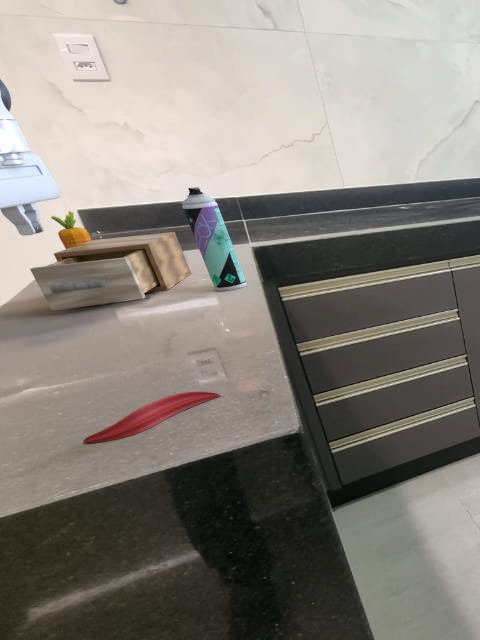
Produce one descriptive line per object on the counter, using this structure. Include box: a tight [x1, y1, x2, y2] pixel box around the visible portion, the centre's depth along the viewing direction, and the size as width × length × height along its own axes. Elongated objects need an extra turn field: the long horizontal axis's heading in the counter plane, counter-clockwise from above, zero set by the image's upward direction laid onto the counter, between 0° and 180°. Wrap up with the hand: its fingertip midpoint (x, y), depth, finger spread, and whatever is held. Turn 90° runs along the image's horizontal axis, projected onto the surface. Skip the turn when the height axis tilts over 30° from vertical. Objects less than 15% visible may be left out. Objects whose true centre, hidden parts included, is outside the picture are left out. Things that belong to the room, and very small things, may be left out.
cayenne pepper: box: [82, 391, 222, 444], centre depth 58 cm, size 12×5×2 cm, turn 138°
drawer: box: [29, 249, 160, 312], centre depth 102 cm, size 19×14×8 cm
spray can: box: [181, 186, 248, 292], centre depth 106 cm, size 6×6×20 cm
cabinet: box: [53, 231, 192, 294], centre depth 113 cm, size 16×15×10 cm
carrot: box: [50, 211, 92, 249], centre depth 125 cm, size 5×5×15 cm
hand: (33, 234), depth 86 cm, fingers closed
